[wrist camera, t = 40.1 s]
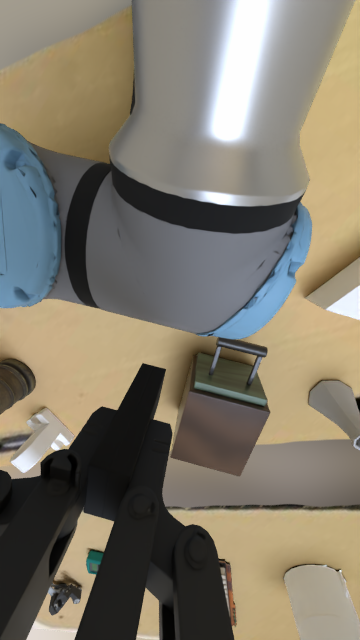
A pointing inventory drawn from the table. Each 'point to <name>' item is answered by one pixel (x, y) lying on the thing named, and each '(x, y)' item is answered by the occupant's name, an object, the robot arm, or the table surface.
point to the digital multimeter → (94, 561)
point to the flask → (338, 407)
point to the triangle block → (340, 292)
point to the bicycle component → (62, 596)
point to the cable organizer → (41, 439)
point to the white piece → (321, 604)
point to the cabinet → (216, 429)
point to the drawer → (231, 373)
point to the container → (14, 383)
